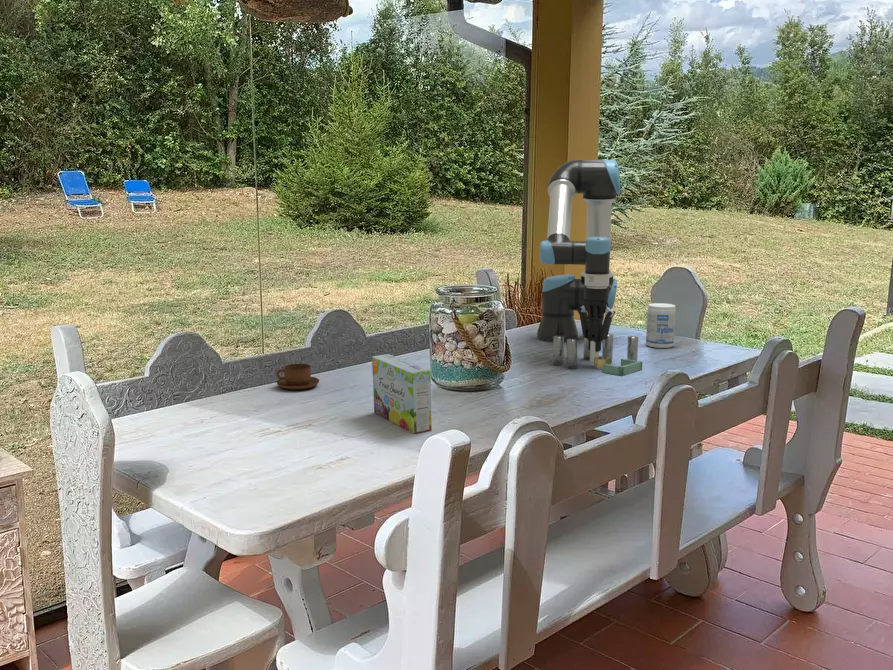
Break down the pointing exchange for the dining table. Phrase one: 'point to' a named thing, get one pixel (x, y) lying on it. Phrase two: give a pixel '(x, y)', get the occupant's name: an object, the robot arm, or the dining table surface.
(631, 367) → the tray
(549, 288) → the robot arm
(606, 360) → the nut
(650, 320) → the supplement tub
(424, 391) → the snack box
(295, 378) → the cup and saucer
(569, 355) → the spacers
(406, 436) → the dining table surface
